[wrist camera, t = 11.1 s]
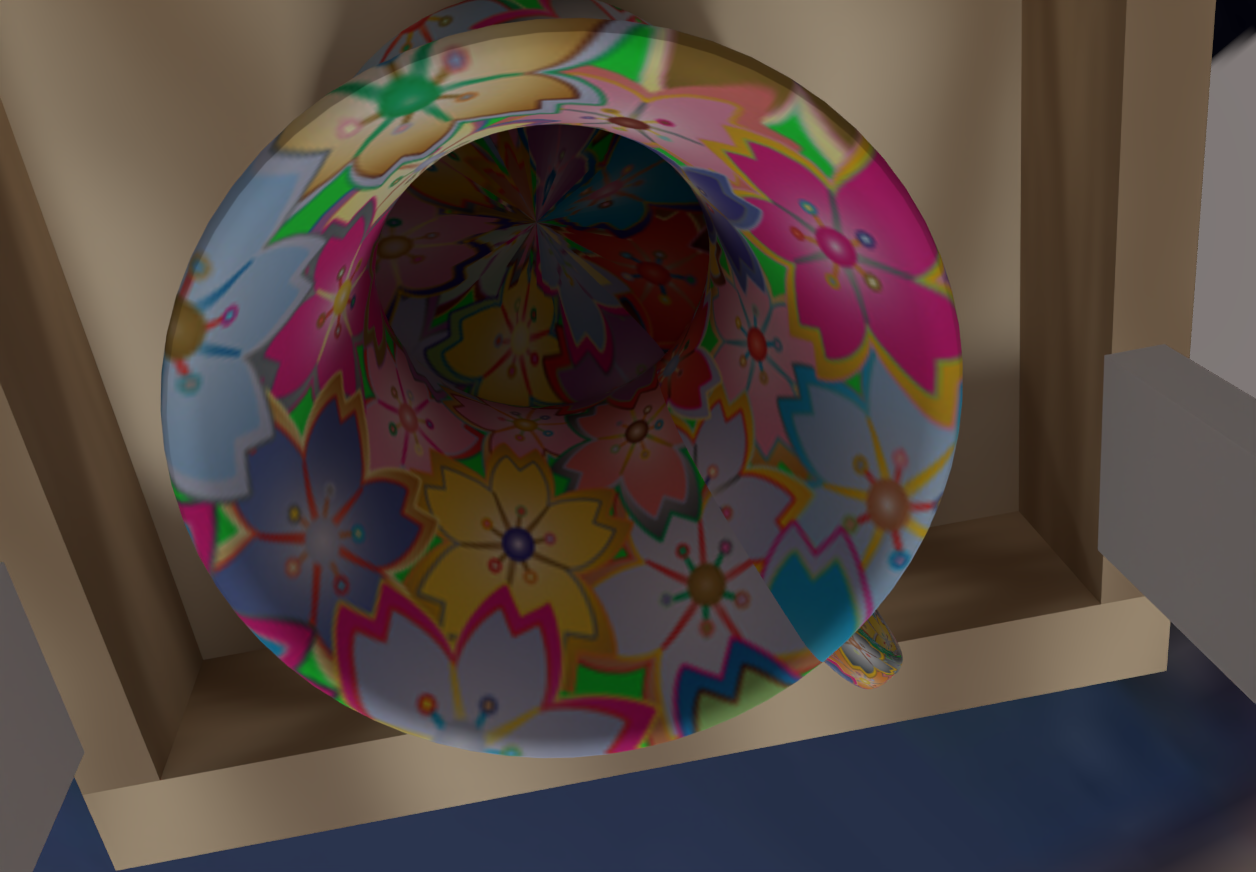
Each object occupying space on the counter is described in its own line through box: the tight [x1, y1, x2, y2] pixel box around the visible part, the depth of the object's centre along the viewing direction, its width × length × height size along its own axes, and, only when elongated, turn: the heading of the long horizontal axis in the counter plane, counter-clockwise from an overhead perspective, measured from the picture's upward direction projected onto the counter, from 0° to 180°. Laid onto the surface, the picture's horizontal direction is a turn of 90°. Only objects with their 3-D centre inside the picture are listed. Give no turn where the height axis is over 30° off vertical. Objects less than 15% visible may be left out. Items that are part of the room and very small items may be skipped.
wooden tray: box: [0, 0, 1216, 871], centre depth 22 cm, size 22×19×5 cm
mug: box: [161, 0, 963, 758], centre depth 19 cm, size 12×9×11 cm
